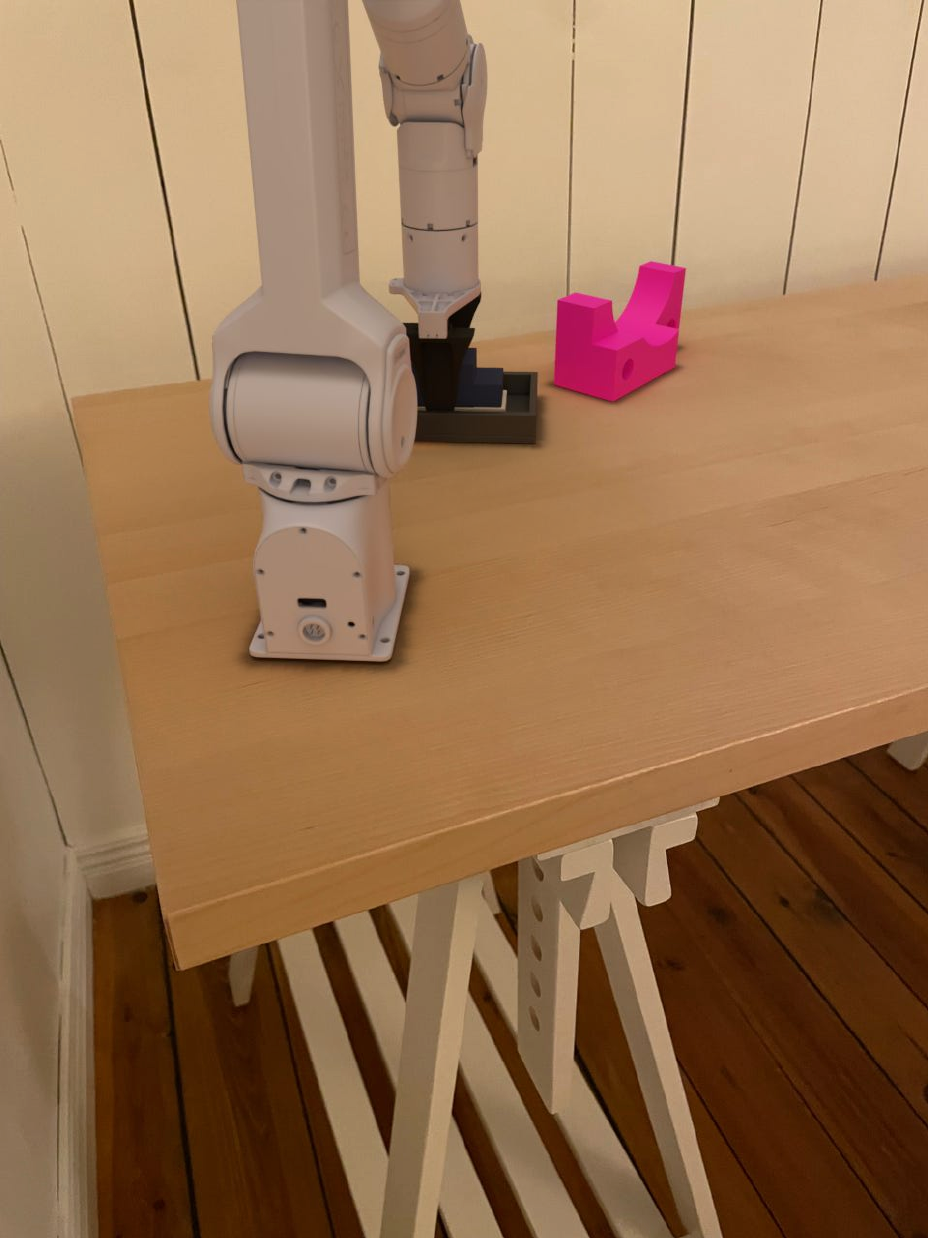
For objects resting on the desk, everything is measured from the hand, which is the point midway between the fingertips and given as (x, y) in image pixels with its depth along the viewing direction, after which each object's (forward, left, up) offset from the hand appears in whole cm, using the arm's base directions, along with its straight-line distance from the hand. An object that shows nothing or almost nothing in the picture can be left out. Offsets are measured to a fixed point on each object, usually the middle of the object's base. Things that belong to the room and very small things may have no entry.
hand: (444, 395), depth 80 cm
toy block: (+12, -16, -2) cm, 20 cm away
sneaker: (0, 0, -1) cm, 1 cm away
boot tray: (0, 0, -2) cm, 2 cm away
